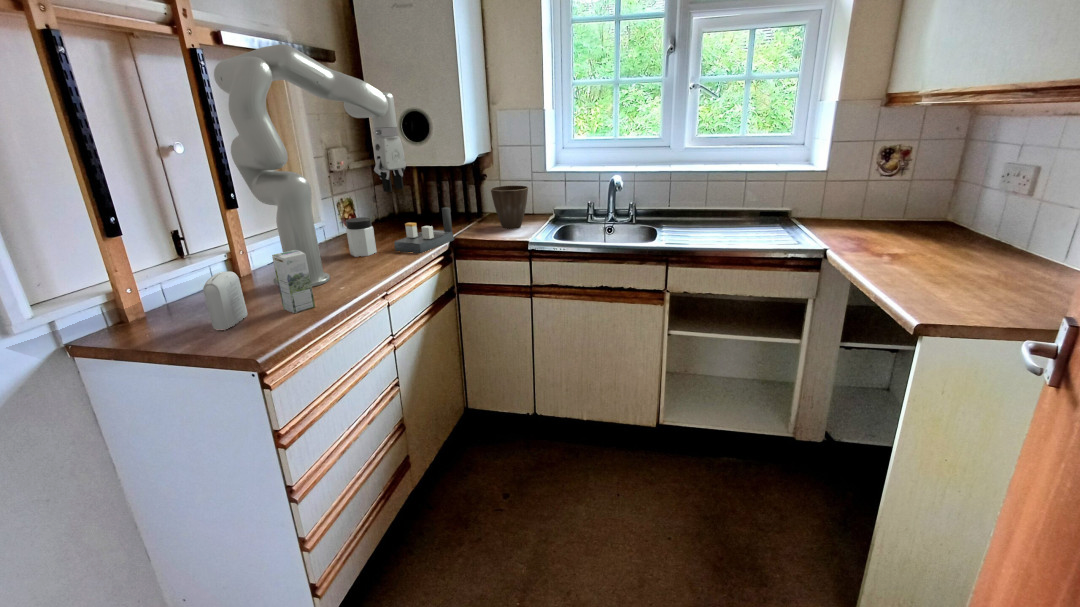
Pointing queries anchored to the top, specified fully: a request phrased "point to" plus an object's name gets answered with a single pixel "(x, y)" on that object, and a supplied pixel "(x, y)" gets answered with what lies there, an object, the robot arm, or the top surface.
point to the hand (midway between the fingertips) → (393, 189)
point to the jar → (360, 237)
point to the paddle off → (427, 232)
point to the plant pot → (510, 205)
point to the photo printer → (224, 300)
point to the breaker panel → (423, 242)
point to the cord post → (447, 219)
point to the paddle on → (411, 230)
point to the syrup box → (293, 281)
